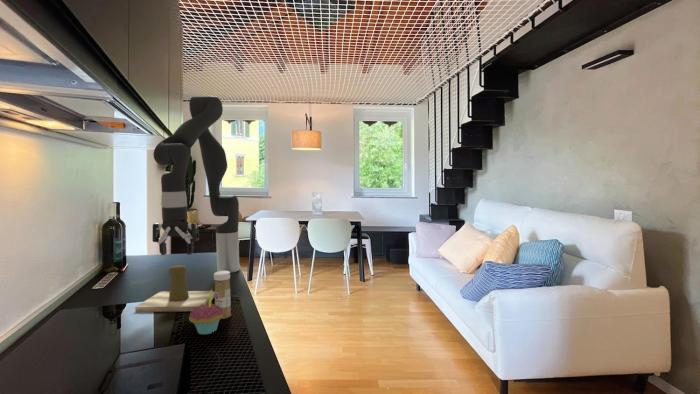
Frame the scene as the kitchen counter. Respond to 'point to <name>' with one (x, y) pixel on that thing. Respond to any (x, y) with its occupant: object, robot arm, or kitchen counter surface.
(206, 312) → the cupcake
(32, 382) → the kitchen counter surface
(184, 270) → the cork
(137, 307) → the birch board
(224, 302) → the sprinkles bottle
